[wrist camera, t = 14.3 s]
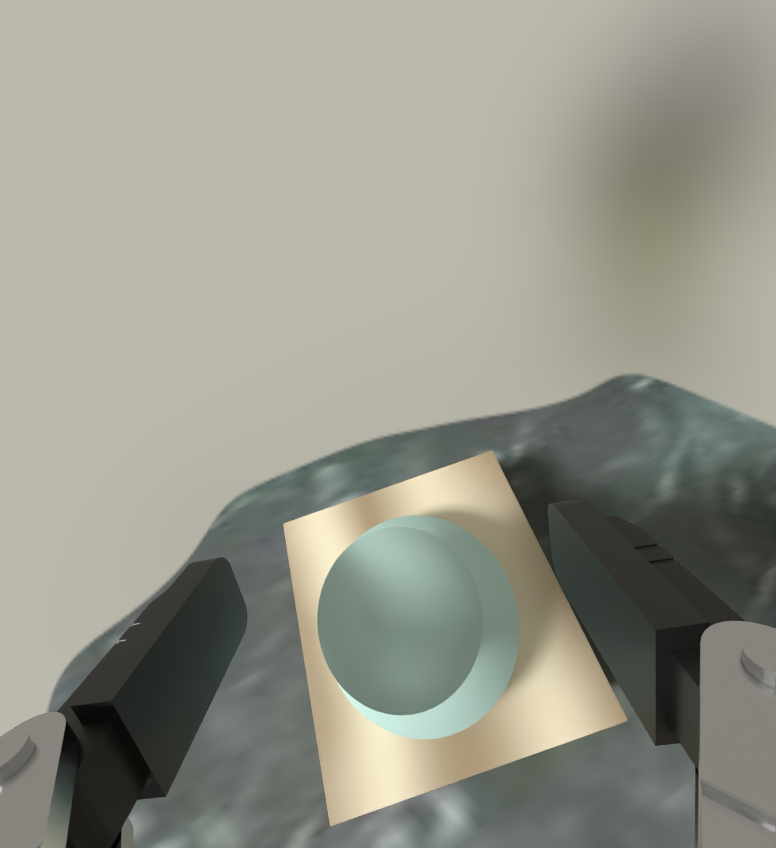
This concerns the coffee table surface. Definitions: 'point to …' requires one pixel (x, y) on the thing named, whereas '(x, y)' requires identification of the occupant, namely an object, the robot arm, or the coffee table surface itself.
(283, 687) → the coffee table surface
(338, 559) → the mint green knob
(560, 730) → the block
